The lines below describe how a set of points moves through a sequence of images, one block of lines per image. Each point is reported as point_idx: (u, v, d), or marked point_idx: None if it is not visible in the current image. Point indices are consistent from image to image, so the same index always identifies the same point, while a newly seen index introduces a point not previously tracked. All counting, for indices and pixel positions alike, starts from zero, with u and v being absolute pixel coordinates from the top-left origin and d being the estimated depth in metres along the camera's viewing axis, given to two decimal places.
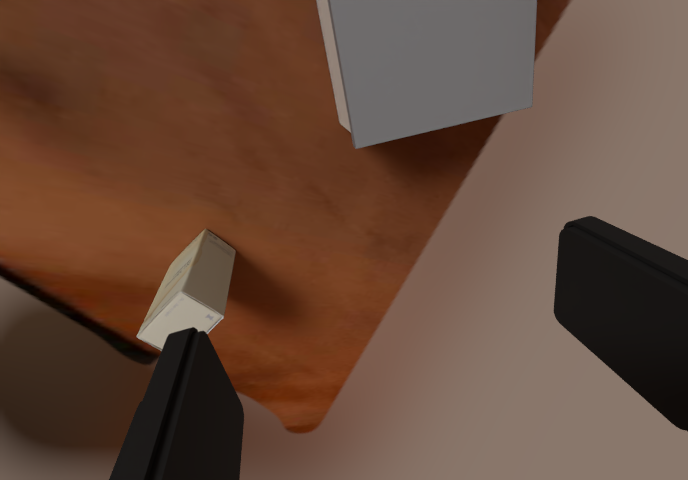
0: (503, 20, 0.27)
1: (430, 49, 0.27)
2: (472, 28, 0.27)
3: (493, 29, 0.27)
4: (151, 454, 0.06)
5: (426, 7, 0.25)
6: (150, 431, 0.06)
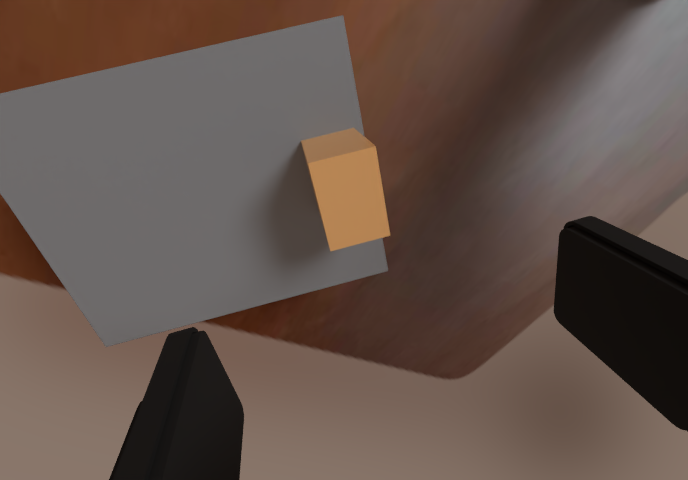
0: (192, 287, 0.23)
1: (135, 208, 0.20)
2: (174, 255, 0.22)
3: (179, 279, 0.22)
4: (152, 455, 0.06)
5: (183, 194, 0.20)
6: (150, 431, 0.06)
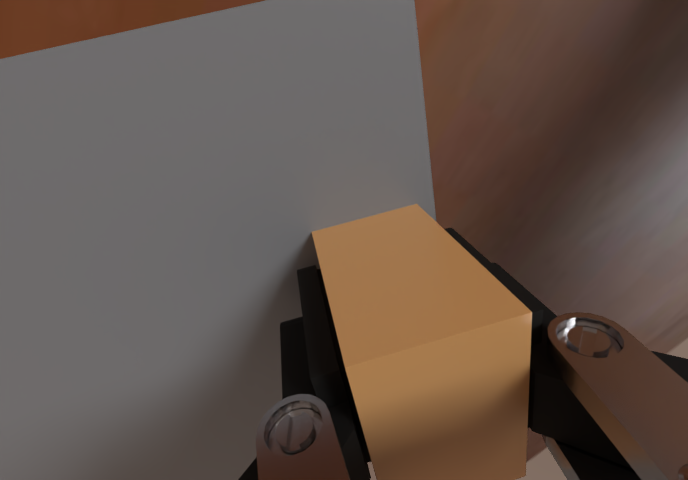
0: None
1: None
2: (70, 438, 0.11)
3: (86, 471, 0.12)
4: (332, 341, 0.07)
5: (74, 340, 0.10)
6: (321, 329, 0.07)
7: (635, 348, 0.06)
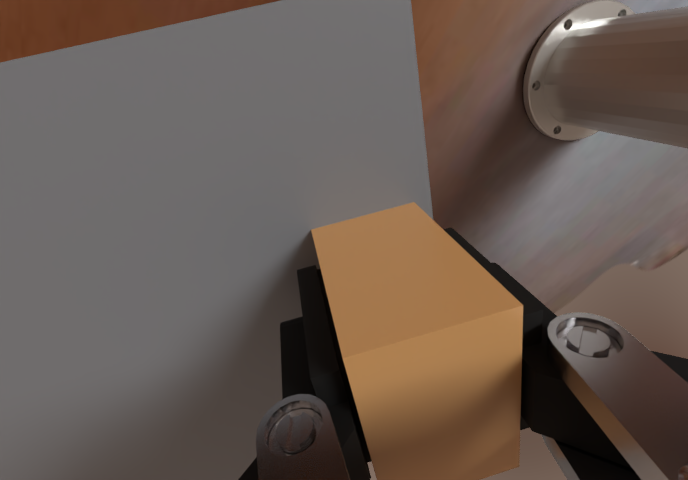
0: (114, 475, 0.13)
1: None
2: (74, 432, 0.12)
3: (89, 466, 0.12)
4: (332, 341, 0.07)
5: (78, 336, 0.10)
6: (322, 329, 0.07)
7: (635, 348, 0.06)
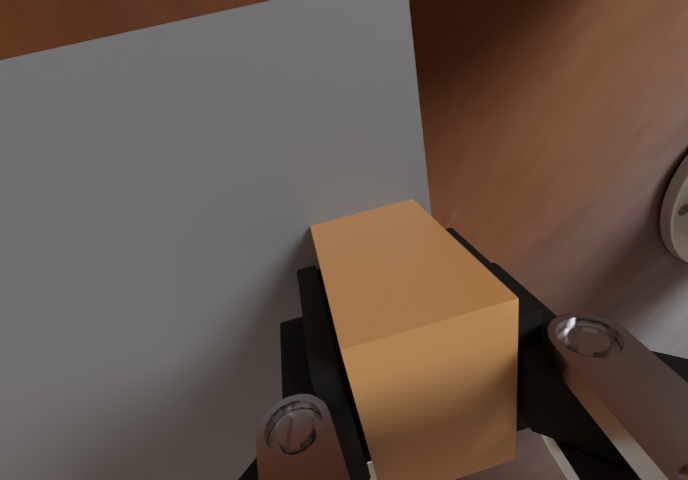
0: (114, 471, 0.13)
1: None
2: (75, 428, 0.12)
3: (90, 461, 0.12)
4: (332, 341, 0.07)
5: (79, 331, 0.10)
6: (321, 329, 0.07)
7: (635, 348, 0.06)
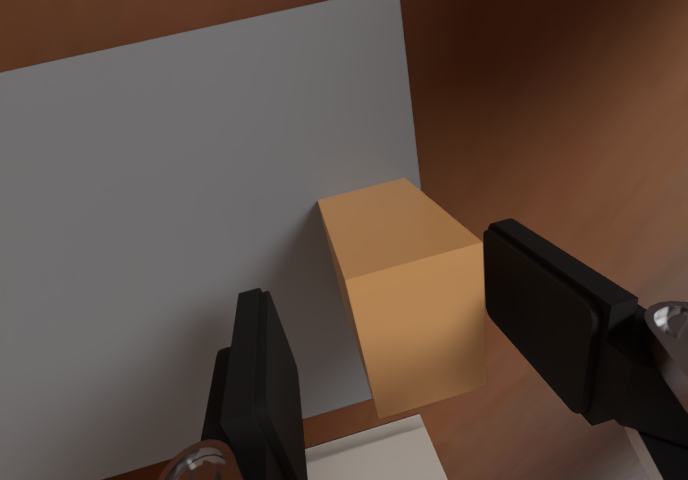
0: (143, 420, 0.15)
1: (38, 314, 0.12)
2: (111, 378, 0.13)
3: (123, 410, 0.14)
4: (253, 379, 0.06)
5: (120, 290, 0.12)
6: (246, 363, 0.07)
7: None
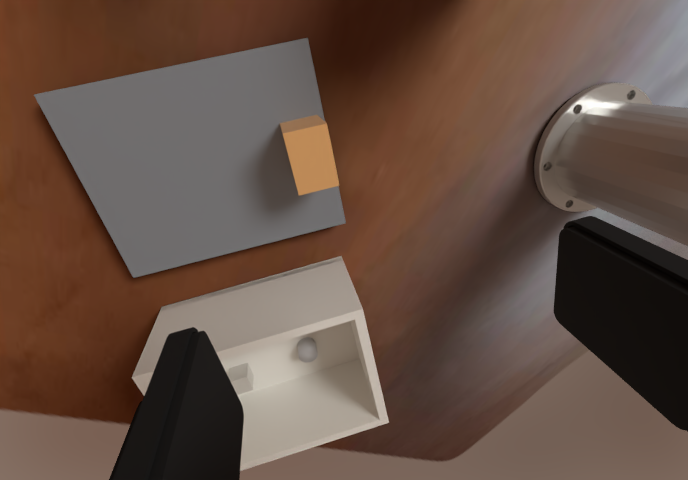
0: (199, 232, 0.31)
1: (161, 169, 0.28)
2: (187, 206, 0.30)
3: (190, 225, 0.30)
4: (151, 454, 0.06)
5: (196, 160, 0.28)
6: (150, 431, 0.06)
7: None
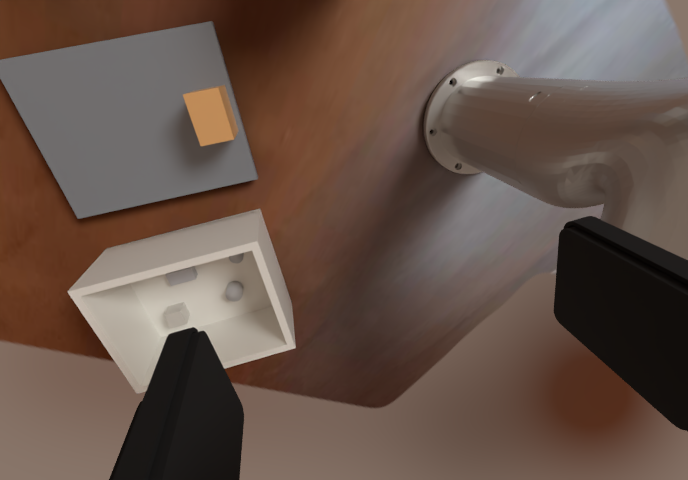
0: (132, 181, 0.38)
1: (97, 126, 0.35)
2: (120, 158, 0.36)
3: (124, 174, 0.37)
4: (152, 453, 0.06)
5: (125, 120, 0.35)
6: (150, 431, 0.06)
7: None
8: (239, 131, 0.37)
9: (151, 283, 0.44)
